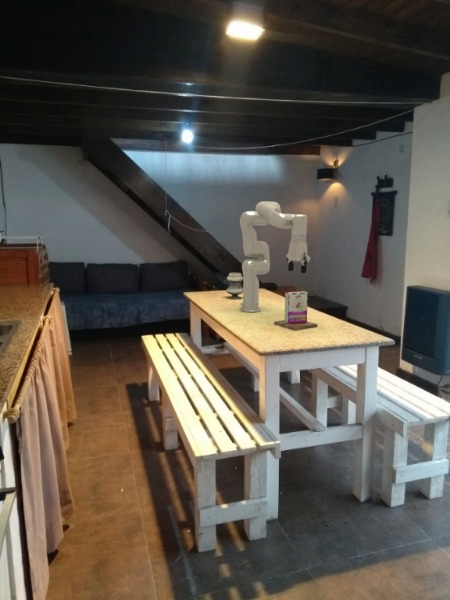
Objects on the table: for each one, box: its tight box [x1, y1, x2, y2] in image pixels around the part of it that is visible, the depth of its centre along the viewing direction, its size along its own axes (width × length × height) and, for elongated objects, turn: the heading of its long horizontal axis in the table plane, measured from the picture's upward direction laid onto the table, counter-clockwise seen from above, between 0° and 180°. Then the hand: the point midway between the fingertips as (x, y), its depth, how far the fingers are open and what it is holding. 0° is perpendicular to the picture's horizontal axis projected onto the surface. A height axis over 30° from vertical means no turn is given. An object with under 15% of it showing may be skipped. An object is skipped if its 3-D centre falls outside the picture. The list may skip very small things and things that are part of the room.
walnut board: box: [273, 319, 318, 331], centre depth 234 cm, size 16×16×2 cm
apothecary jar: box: [226, 272, 243, 301], centre depth 312 cm, size 12×12×18 cm
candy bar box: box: [284, 291, 309, 324], centre depth 233 cm, size 11×5×16 cm, turn 108°
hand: (297, 271), depth 230 cm, fingers open, 9 cm apart
